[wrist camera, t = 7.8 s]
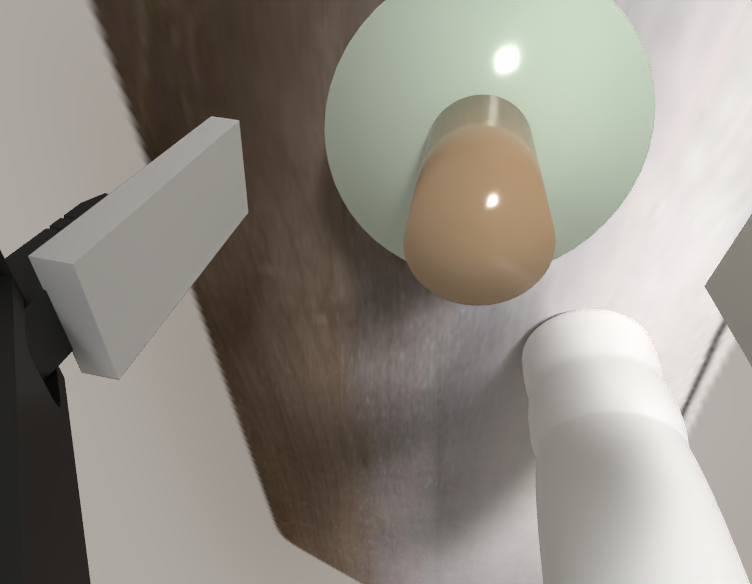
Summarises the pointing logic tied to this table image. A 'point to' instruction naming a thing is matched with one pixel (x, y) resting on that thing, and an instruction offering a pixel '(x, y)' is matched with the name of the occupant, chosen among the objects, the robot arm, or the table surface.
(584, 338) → the water bottle
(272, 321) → the table surface
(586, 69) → the lid
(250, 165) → the table surface
